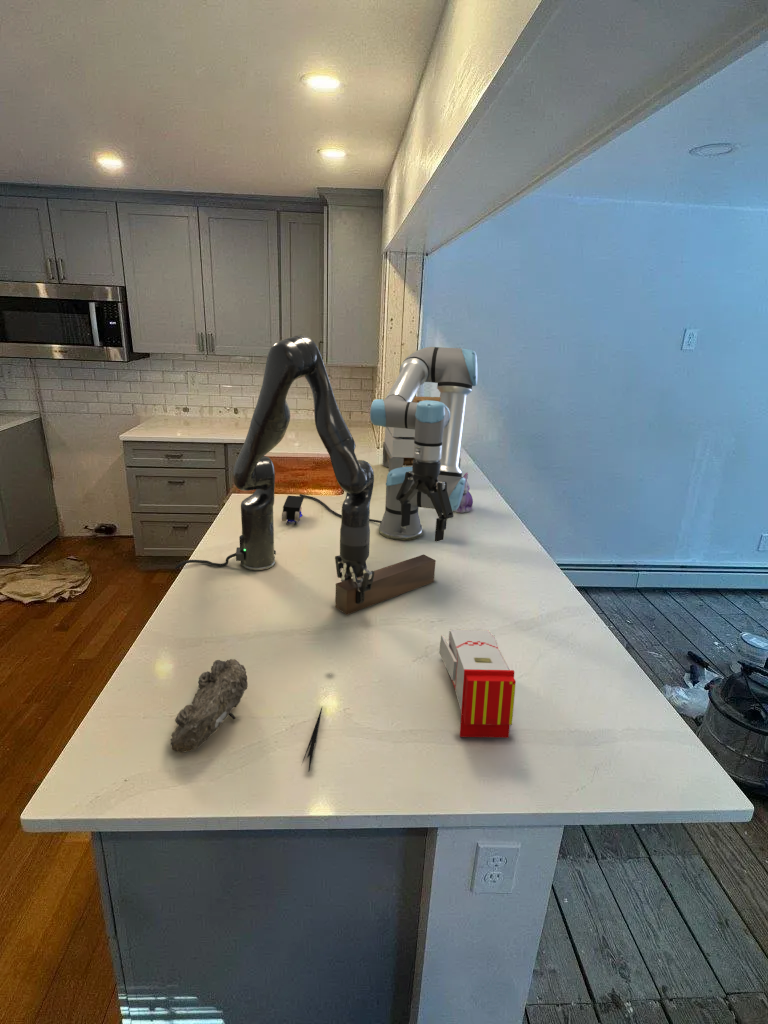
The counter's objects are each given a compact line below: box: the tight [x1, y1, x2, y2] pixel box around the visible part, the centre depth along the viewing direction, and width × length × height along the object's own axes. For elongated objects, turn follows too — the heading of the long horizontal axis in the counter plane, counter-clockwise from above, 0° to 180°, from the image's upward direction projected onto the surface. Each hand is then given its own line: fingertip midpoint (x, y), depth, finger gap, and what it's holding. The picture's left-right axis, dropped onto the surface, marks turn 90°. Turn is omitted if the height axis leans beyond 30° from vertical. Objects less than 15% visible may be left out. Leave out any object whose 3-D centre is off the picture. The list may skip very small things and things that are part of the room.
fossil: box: [170, 658, 249, 753], centre depth 106 cm, size 22×10×15 cm
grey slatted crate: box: [381, 392, 464, 473], centre depth 268 cm, size 34×33×41 cm
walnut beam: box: [334, 554, 437, 616], centre depth 156 cm, size 5×32×7 cm, turn 131°
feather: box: [301, 673, 332, 771], centre depth 108 cm, size 2×28×2 cm
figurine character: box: [281, 495, 305, 526], centre depth 206 cm, size 7×8×15 cm
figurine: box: [454, 472, 474, 514], centre depth 225 cm, size 9×10×15 cm
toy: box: [438, 628, 517, 738], centre depth 117 cm, size 12×13×30 cm
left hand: (353, 598), depth 149 cm, fingers closed on walnut beam, 5 cm apart
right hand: (421, 532), depth 160 cm, fingers open, 13 cm apart
